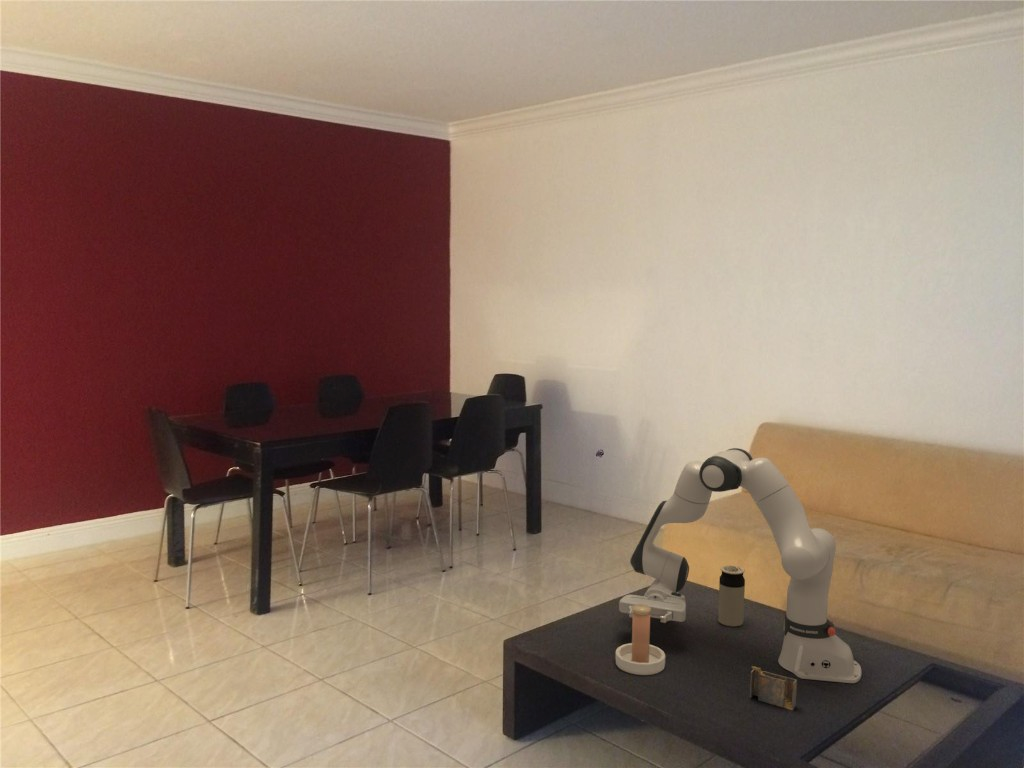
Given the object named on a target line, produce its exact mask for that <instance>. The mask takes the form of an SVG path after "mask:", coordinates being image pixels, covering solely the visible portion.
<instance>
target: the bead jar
mask: <svg viewBox="0 0 1024 768" xmlns="http://www.w3.org/2000/svg"><path fill="white" fill-rule="evenodd" d="M632 612H633V617H632V623H631V624H632V626H631V627H632V628H631V630H632V631H631V643H632V661H633V662H638V663H649V644H650V642H651V641H650V640H651V639H650V638H651V637H650V634H651V617H650V613H651V607H650V606H648V605H644V604H636V605H634V606H633V607H632Z"/></svg>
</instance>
